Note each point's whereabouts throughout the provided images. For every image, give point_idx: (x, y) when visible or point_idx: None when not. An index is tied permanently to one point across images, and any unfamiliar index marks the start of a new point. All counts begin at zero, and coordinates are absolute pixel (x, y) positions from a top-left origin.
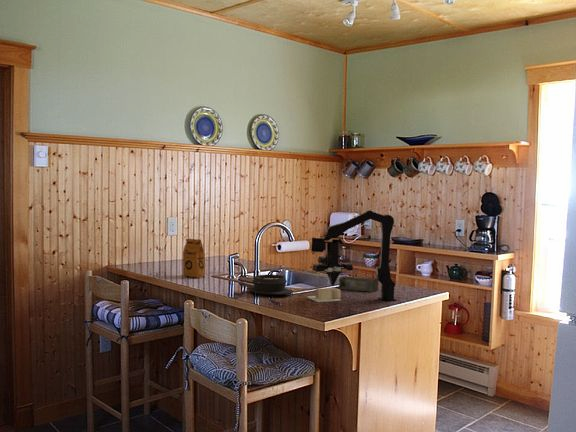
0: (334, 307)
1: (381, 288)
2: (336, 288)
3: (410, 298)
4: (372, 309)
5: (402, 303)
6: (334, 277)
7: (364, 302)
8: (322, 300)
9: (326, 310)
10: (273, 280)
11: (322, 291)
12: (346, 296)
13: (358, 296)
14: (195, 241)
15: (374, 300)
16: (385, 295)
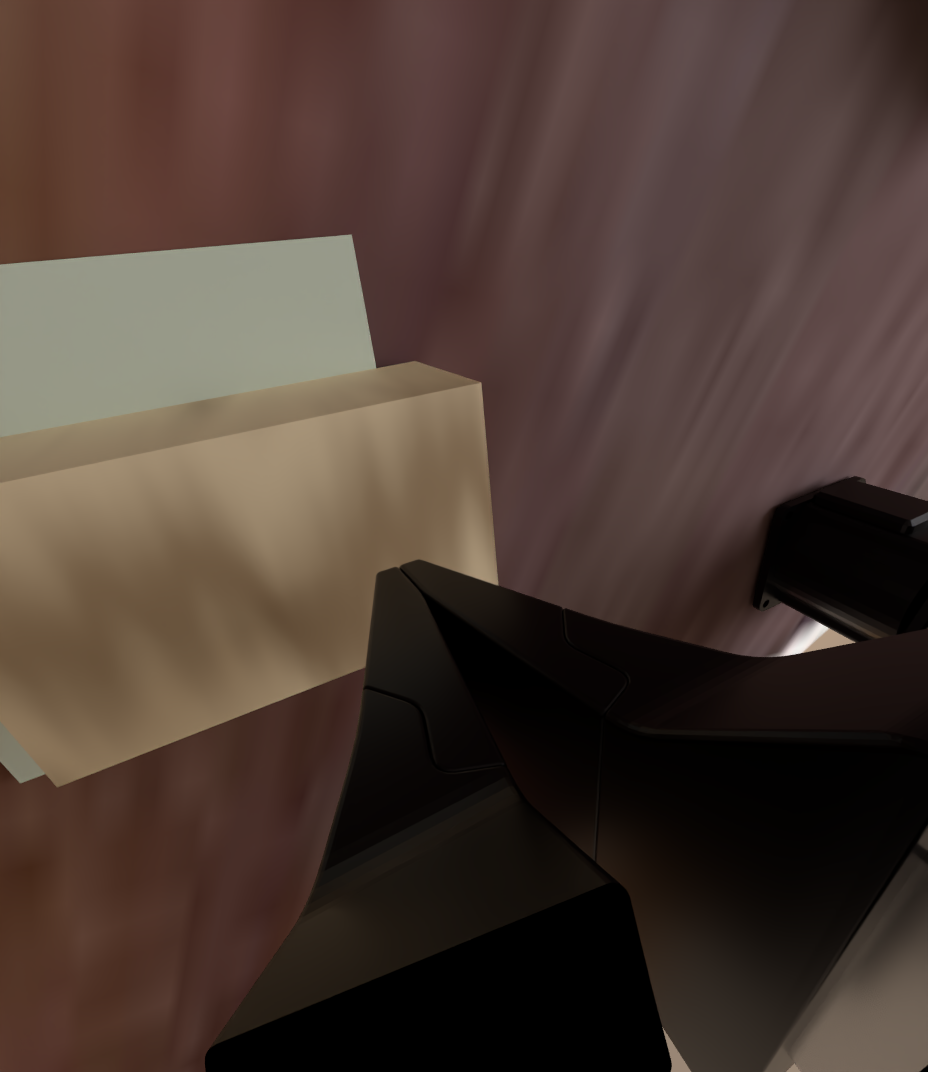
0: (261, 917)
1: (901, 546)
2: (482, 466)
3: (924, 494)
4: None
5: (786, 655)
6: (536, 806)
7: None
8: None
9: (152, 1039)
10: None
11: (100, 765)
12: (584, 337)
13: (704, 362)
14: None
15: (711, 576)
16: (810, 604)
